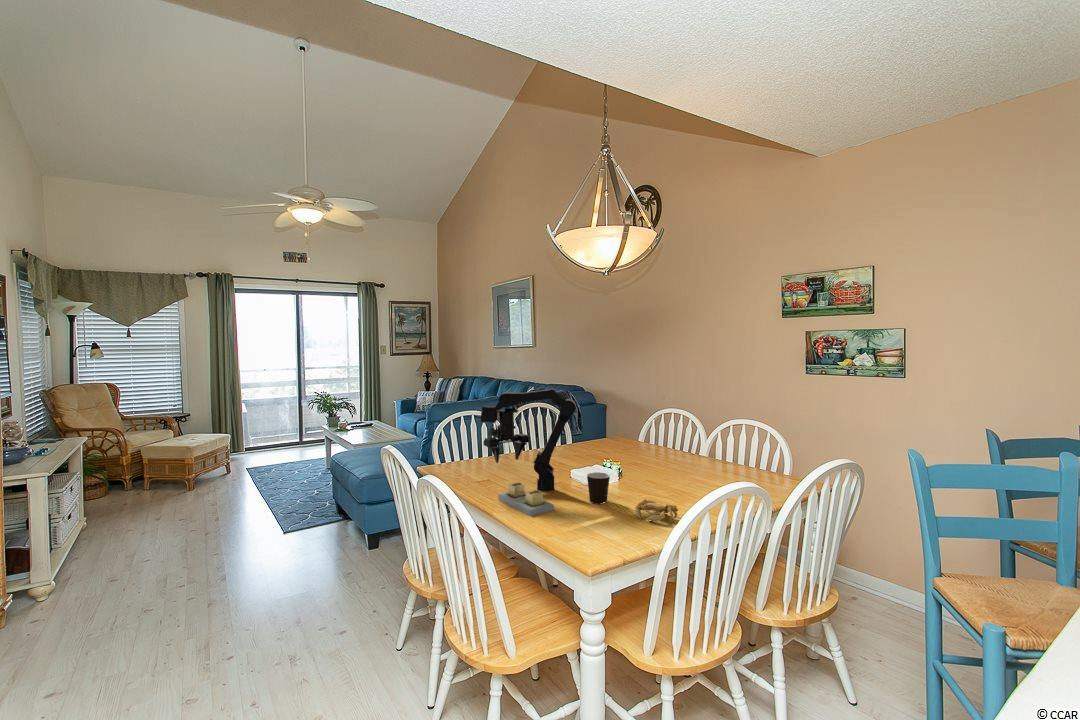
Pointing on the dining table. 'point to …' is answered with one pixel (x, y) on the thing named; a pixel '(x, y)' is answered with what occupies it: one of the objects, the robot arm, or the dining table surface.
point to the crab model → (658, 508)
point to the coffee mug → (598, 486)
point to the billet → (516, 490)
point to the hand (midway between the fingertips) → (506, 461)
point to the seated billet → (534, 498)
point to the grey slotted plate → (521, 504)
